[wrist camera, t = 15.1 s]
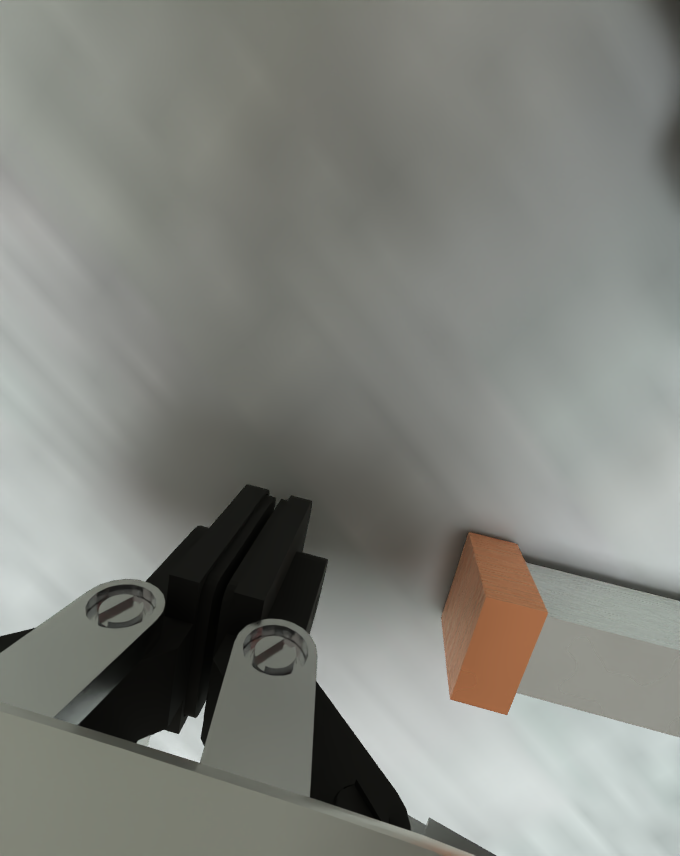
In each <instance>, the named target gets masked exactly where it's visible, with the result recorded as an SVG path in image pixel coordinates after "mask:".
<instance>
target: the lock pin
mask: <svg viewBox="0 0 680 856" xmlns="http://www.w3.org/2000/svg"><path fill="white" fill-rule="evenodd" d="M441 620H442V630H443V639H444V648H445V657H446V666H447V676H448V685H449V694H450V699H451V700H454V701H458V702H462V703H465V704H469V705H472V706H476V707H480V708H483V709H487V710H490V711H494V712H498V713H501V714H505V715H507V714H508V712H509V709H510V707H511V704H512V702H513V699H514V697H515V694H516V693H519V694H523V695H527V696H530V697H534V698H538V699H541V700H545V701H549V702H552V703H556V704H560V705H563V706H567V707H570V708H574V709H578V710H581V711H585V712H589V713H592V714H596V715H600V716H603V717H607V718H611V719H614V720H618V721H622V722H625V723H629V724H633V725H636V726H640V727H644V728H647V729H651V730H655V731H658V732H662V733H666V734H669V735H673V736H676V737H680V601H678V600H674V599H670V598H666V597H662V596H658V595H654V594H650V593H646V592H642V591H638V590H634V589H630V588H626V587H622V586H618V585H614V584H610V583H606V582H602V581H598V580H594V579H590V578H586V577H582V576H578V575H574V574H570V573H566V572H562V571H558V570H554V569H550V568H546V567H542V566H538V565H534V564H530V563H526V562H525V560H524V558H523V556H522V554H521V551H520V549H519V547H518V545H517V544H515V543H511V542H507V541H503V540H499V539H495V538H491V537H487V536H483V535H479V534H475V533H471V532H469V533H468V536H467V539H466V542H465V545H464V548H463V551H462V554H461V557H460V561H459V564H458V567H457V570H456V573H455V576H454V579H453V582H452V585H451V589H450V592H449V595H448V598H447V601H446V604H445V607H444V610H443V613H442V617H441Z"/></svg>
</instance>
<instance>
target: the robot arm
mask: <svg viewBox="0 0 680 856" xmlns="http://www.w3.org/2000/svg"><path fill="white" fill-rule="evenodd" d="M275 501H276V498H275V497H272V496H269V490H267V489H263V488H260V487H256V486H252V485H248V484H247V485H246V486H245V487H244V488H243V490H242V491H241V492H240V493H239V494H238V495H237V497H236V498H235V499H234V500H233V501H232V502H231V503H230V505H229V506H228V507H227V508H226V509H225V510H224V512H223V513H222V514H221V515H220V516H219V517H218V519H217V520H216V521H215V522H214V523H213V524H212V525H211V527H210V528H208V527H204V526H197V527H196V528H195V529H194V530H193V531H192V532H191V533H190V534H189V535H188V536H187V537H186V538H185V539H184V541H183V542H182V543H181V544H180V545H179V546H178V547H177V548H176V549H175V550H174V551H173V552H172V553H171V555H170V556H169V557H168V558H167V559H166V560H165V561H164V562H163V563H162V564H161V565H160V566H159V568H158V569H157V570H156V571H155V572H154V573H153V574H152V575H151V576H150V577H149V578H148V579H147V580H146V582H144V581H141V580H133V579H122V580H114V581H110V582H106V583H103V584H100V585H98V586H96V587H94V588H93V589H91V590H89V591H87V592H86V593H85V594H83V595H82V596H80V597H79V598H77V599H76V600H75V601H73V602H72V603H70V604H69V605H68V606H66V607H65V608H63V609H62V610H60V611H59V612H58V613H56V614H55V615H53V616H52V617H51V618H49V619H48V620H46V621H45V622H43V623H42V624H41V625H39V626H38V627H36V628H33V629H29V630H25V631H21V632H16V633H12V634H8V635H4V636H0V856H496V855H494V854H493V853H491V852H489V851H487V850H485V849H484V848H482V847H480V846H478V845H477V844H475V843H473V842H471V841H470V840H468V839H466V838H464V837H463V836H461V835H459V834H457V833H456V832H454V831H452V830H450V829H449V828H447V827H445V826H443V825H442V824H440V823H438V822H436V821H435V820H433V819H431V818H429V819H428V821H427V824H426V825H425V824H423V823H421V822H420V821H418V820H416V819H414V818H413V817H411V816H409V815H408V814H407V811H406V808H405V806H404V804H403V802H402V800H401V799H400V797H399V795H398V793H397V792H396V790H395V789H394V788H393V786H392V785H391V783H390V782H389V781H388V779H387V778H386V777H385V775H384V774H383V772H382V771H381V770H380V768H379V767H378V766H377V764H376V763H375V761H374V760H373V759H372V757H371V756H370V755H369V753H368V752H367V750H366V749H365V748H364V746H363V745H362V744H361V742H360V741H359V739H358V738H357V737H356V735H355V734H354V732H353V731H352V730H351V728H350V727H349V726H348V724H347V723H346V721H345V720H344V719H343V717H342V716H341V715H340V713H339V712H338V710H337V709H336V708H335V706H334V705H333V704H332V702H331V701H330V699H329V698H328V697H327V695H326V694H325V693H324V691H323V690H322V688H321V687H320V686H319V684H318V683H317V682H316V671H317V650H316V645H315V643H314V641H313V639H312V637H311V636H310V635H309V634H310V631H311V627H312V624H313V620H314V617H315V613H316V609H317V605H318V601H319V597H320V593H321V589H322V585H323V580H324V576H325V572H326V567H327V562H328V559H325V558H321V557H317V556H313V555H310V554H306V553H302V551H303V546H304V542H305V537H306V532H307V527H308V523H309V518H310V513H311V508H312V501H310V500H306V499H303V498H299V497H295V496H290V498H289V499H288V501H287V500H283V499H281V500H280V502H279V503H278V505H277V506H276V508H275V510H274V507H275ZM205 701H206V706H205V712H204V721H203V727H202V733H201V740H202V742H203V745H204V750H203V753H202V757H201V760H200V763H198V762H195V761H192V760H188V759H185V758H182V757H179V756H176V755H172V754H169V753H166V752H163V751H159V750H156V749H153V748H150V747H147V746H148V743H149V739H150V735H152V734H155V733H157V732H159V731H162V730H167V731H170V732H173V733H177V734H179V732H180V731H181V729H182V727H183V725H184V723H185V721H186V719H187V717H188V716H191V717H194V718H196V717H197V716H198V715H199V713H200V711H201V709H202V707H203V705H204V703H205Z"/></svg>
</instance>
